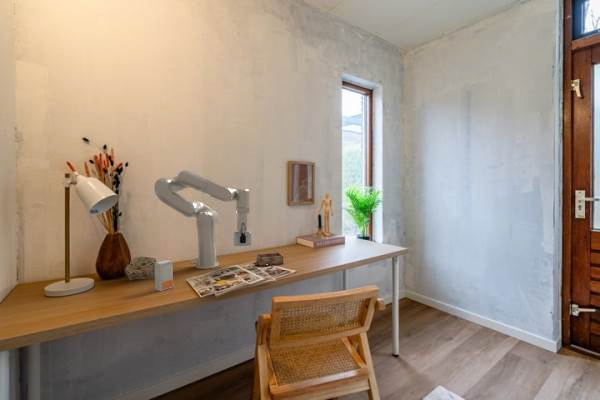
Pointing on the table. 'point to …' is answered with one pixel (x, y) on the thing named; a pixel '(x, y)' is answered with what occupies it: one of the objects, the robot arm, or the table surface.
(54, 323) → the table surface
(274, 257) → the crate large
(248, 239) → the crate small
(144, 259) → the rock
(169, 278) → the skincare box
